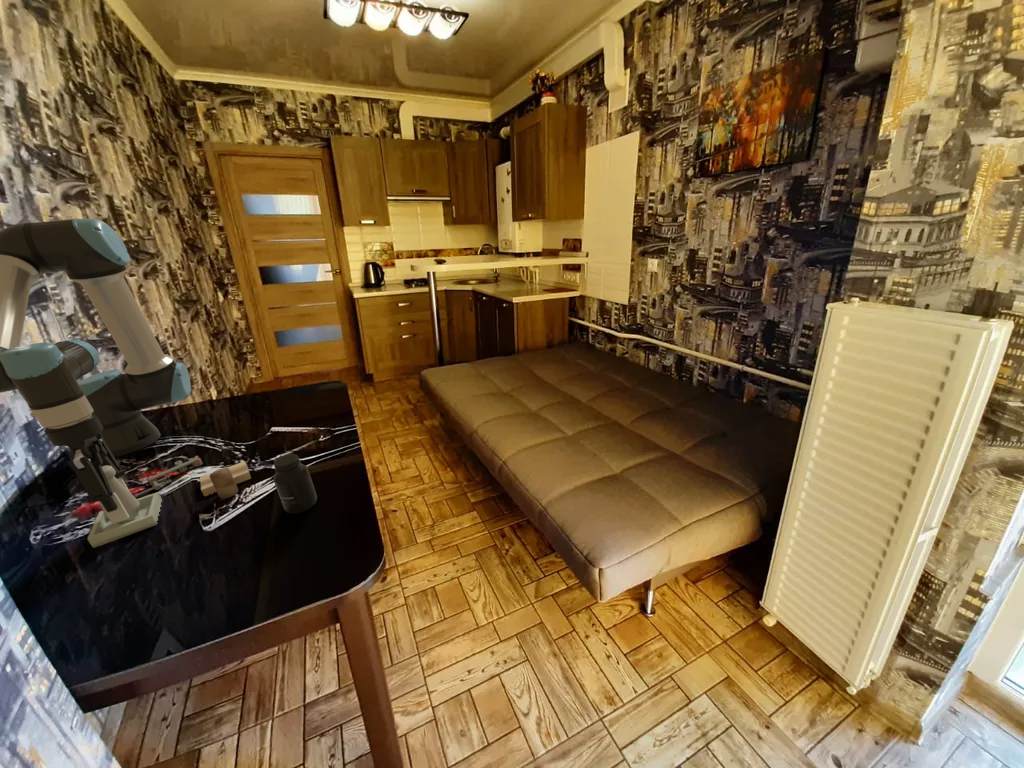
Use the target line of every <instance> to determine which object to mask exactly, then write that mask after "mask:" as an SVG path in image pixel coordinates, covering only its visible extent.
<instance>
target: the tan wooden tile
mask: <svg viewBox="0 0 1024 768" xmlns="http://www.w3.org/2000/svg"><path fill="white" fill-rule="evenodd" d="M226 468H229V469H230V472H231V474H232V476H233V478H234V481H235V483H236V485H239V484H240V483H243V482H246V481H248V480H250V479H252V477H251V474H250V471H249V467H248V464H247V462H246V461H245V460H244V461H241V462H239V463H236V464H233V465H230V466H227V467H226ZM211 473H212V472H211ZM211 473H209V474H205V475H203V476H200V477H199V481H200V490H201V493H202V495H203V496H205V497H207V496H210V495H212V494H215V493H217V491H216V489H215V487H214V485H213V483H212V481H211V479H210V474H211ZM214 492H215V493H214ZM209 494H210V495H209Z"/></svg>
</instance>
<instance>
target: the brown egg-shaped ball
mask: <svg viewBox="0 0 1024 768" xmlns="http://www.w3.org/2000/svg"><path fill="white" fill-rule="evenodd" d="M209 474H210V473H209ZM210 479H211V481H212V483H213V485H214V487H215V489H216V491H217V492H216V493H217V495H218V498H219V499H220V498H221V499H222V500H224V499H229V498H231V497H233V496H235V495H236V494H238V492H239V488H238V484H236V483H235V481H234V478H233V476H232V474H231V472H230V469H229V468H227V467H222V468H219V469H217V470H214V471H213V472H211V474H210Z"/></svg>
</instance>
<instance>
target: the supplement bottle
mask: <svg viewBox="0 0 1024 768" xmlns="http://www.w3.org/2000/svg"><path fill="white" fill-rule="evenodd" d="M273 466H274V470H275V474H274V476H273V482H274V486H275V488H276V491H277V493H278V496H279V498H280V501H281V504H282V506H283V509H284V511H285V512H286V513H288V514H290V515H291V514H292V515H293V514H294V515H296V514H301V513H303V512H306V511H308V510H310V509H311V508H312V507H313V506H315V504H316V503H317V499H318V496H317V493H316V490H315V486H314V483H313V480H312V477H311V474H310V471H309V469H308V467H307V466H306V465H305V464H303V463H302V462H301V461H300V458H299V456H298V454H294V453H289V454H286V455H282V456H281V457H278V458H277V459H276V460H275V461H274V462H273Z"/></svg>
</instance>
